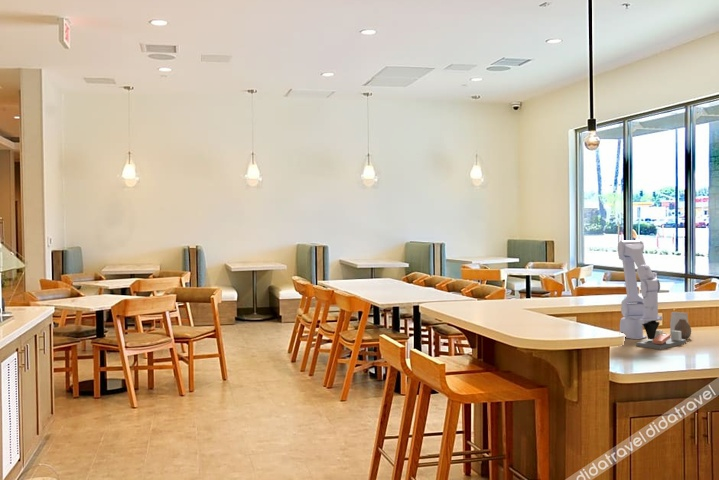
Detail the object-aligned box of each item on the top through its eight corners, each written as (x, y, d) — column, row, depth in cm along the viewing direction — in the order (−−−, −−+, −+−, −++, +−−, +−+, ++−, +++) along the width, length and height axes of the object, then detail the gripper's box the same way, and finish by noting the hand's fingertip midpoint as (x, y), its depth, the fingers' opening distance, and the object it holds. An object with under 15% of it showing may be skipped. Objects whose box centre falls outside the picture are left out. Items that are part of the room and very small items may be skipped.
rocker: (652, 342, 294) (652, 339, 294) (661, 336, 298) (661, 333, 298) (661, 344, 291) (661, 340, 290) (670, 337, 295) (670, 334, 294)
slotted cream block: (652, 338, 304) (652, 330, 304) (655, 338, 305) (655, 329, 305) (659, 339, 301) (659, 330, 301) (662, 339, 303) (662, 330, 303)
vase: (688, 337, 315) (687, 317, 315) (693, 339, 308) (693, 320, 308) (671, 337, 316) (671, 317, 315) (677, 340, 309) (677, 320, 309)
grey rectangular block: (685, 335, 320) (685, 313, 320) (670, 334, 324) (670, 312, 324) (688, 334, 323) (688, 312, 322) (673, 332, 327) (672, 311, 327)
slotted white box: (671, 339, 301) (671, 330, 301) (674, 339, 302) (674, 330, 302) (678, 340, 298) (678, 331, 298) (681, 339, 300) (681, 330, 300)
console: (636, 346, 298) (636, 340, 298) (662, 339, 310) (662, 334, 310) (660, 349, 289) (660, 343, 289) (686, 343, 301) (686, 337, 301)
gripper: (649, 309, 292) (650, 342, 293) (668, 306, 301) (669, 337, 301) (634, 308, 298) (634, 340, 298) (653, 304, 307) (653, 335, 307)
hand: (651, 338), depth 300 cm, fingers closed
